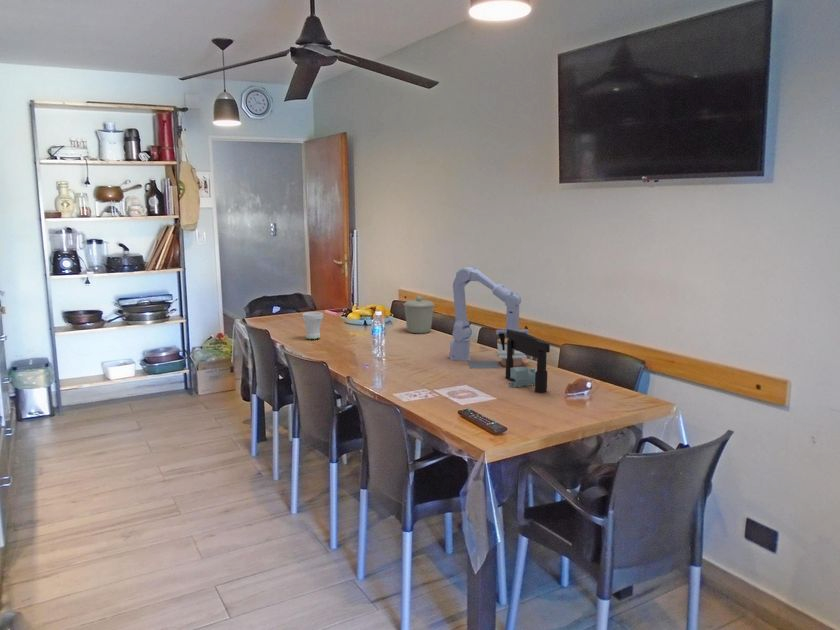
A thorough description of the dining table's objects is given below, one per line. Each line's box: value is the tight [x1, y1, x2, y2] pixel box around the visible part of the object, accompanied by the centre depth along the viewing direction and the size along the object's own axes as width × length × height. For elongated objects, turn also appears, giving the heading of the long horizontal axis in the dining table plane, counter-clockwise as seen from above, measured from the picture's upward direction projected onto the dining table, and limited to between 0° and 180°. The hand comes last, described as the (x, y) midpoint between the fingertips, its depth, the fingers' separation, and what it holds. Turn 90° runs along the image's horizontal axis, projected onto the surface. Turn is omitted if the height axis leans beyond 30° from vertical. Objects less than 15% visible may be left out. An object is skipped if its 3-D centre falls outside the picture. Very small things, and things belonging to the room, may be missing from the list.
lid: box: [496, 349, 528, 359], centre depth 302 cm, size 12×12×5 cm
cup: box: [301, 311, 324, 340], centre depth 359 cm, size 11×11×14 cm
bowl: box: [500, 358, 523, 368], centre depth 303 cm, size 9×9×4 cm
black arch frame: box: [505, 329, 551, 393], centre depth 269 cm, size 16×21×33 cm
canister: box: [403, 295, 436, 334], centre depth 379 cm, size 18×18×21 cm
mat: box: [466, 360, 501, 370], centre depth 302 cm, size 14×14×1 cm
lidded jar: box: [496, 337, 517, 351], centre depth 321 cm, size 11×11×9 cm
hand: (511, 349), depth 302 cm, fingers open, 7 cm apart
